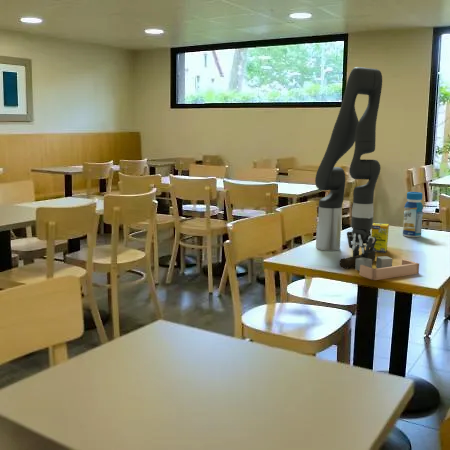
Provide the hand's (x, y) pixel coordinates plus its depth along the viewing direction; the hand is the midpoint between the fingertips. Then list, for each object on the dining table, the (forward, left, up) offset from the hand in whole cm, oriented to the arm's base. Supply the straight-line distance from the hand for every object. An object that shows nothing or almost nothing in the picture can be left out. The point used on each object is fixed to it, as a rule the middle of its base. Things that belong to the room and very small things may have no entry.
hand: (359, 261), depth 208 cm
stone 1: (+7, -4, -1) cm, 8 cm away
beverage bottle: (-32, +58, -1) cm, 66 cm away
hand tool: (-1, 0, -2) cm, 2 cm away
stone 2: (+8, +4, -1) cm, 9 cm away
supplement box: (-14, +22, -1) cm, 26 cm away
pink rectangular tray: (+15, 0, -1) cm, 15 cm away
